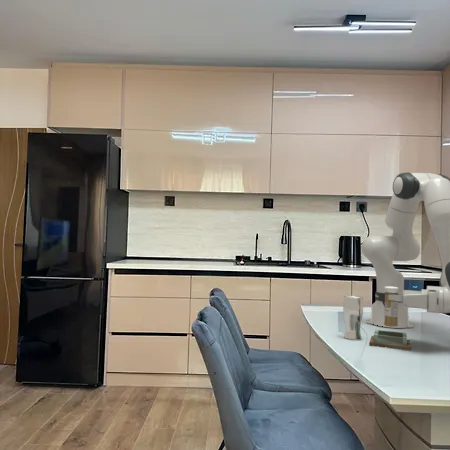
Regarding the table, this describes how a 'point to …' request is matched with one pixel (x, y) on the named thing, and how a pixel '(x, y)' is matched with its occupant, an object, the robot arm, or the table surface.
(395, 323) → the sprinkles bottle
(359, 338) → the beer glass
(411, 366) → the table surface
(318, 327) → the table surface
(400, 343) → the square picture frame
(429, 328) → the table surface
